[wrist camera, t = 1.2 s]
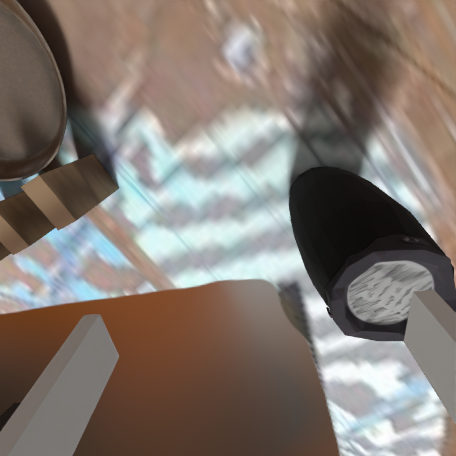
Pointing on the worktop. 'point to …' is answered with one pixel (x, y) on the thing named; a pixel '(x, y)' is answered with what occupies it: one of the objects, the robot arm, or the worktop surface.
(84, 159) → the domino
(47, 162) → the plant saucer
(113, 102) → the worktop surface
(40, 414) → the robot arm
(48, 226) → the domino
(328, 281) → the portable speaker
